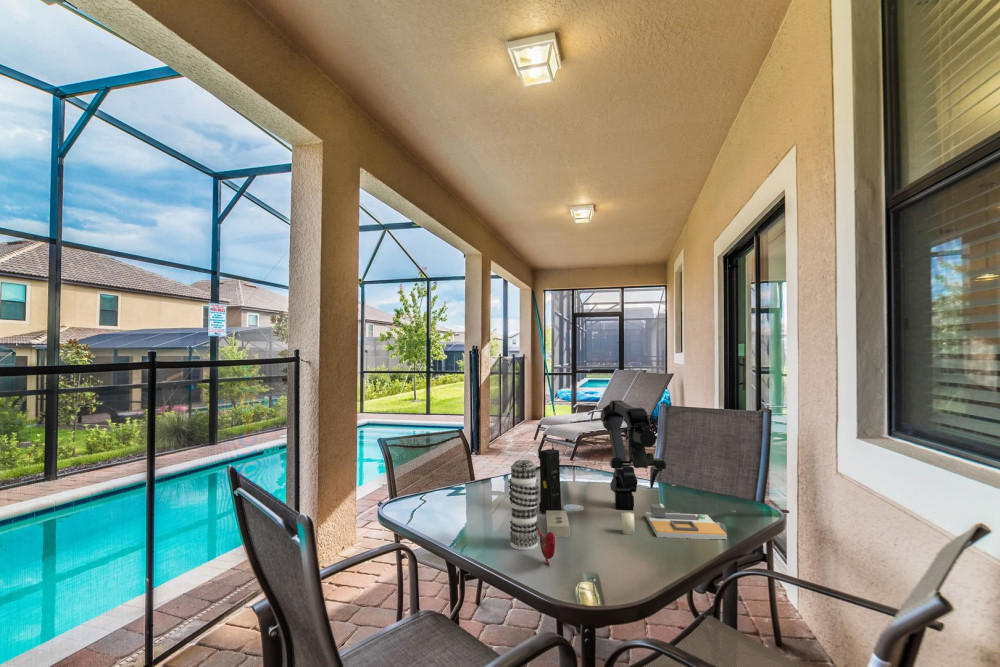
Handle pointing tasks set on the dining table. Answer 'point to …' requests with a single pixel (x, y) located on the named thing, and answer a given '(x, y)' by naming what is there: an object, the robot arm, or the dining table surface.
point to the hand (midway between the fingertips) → (638, 488)
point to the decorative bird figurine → (547, 545)
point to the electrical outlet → (557, 523)
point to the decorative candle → (523, 505)
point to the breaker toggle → (657, 510)
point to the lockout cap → (628, 523)
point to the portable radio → (549, 480)
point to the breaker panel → (685, 526)
